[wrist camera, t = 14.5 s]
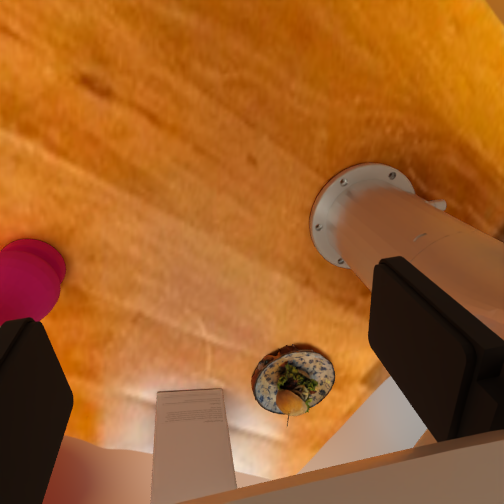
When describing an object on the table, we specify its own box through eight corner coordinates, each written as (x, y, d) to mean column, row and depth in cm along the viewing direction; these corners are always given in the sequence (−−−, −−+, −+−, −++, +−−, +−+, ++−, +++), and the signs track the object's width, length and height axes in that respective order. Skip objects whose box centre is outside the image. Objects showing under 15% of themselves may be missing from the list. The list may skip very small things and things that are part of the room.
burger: (325, 399, 55) (345, 444, 49) (249, 409, 53) (259, 457, 47) (335, 337, 50) (359, 377, 44) (252, 346, 48) (263, 389, 42)
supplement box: (155, 436, 52) (147, 561, 39) (156, 390, 48) (147, 511, 35) (219, 432, 54) (231, 549, 41) (224, 387, 50) (240, 500, 37)
